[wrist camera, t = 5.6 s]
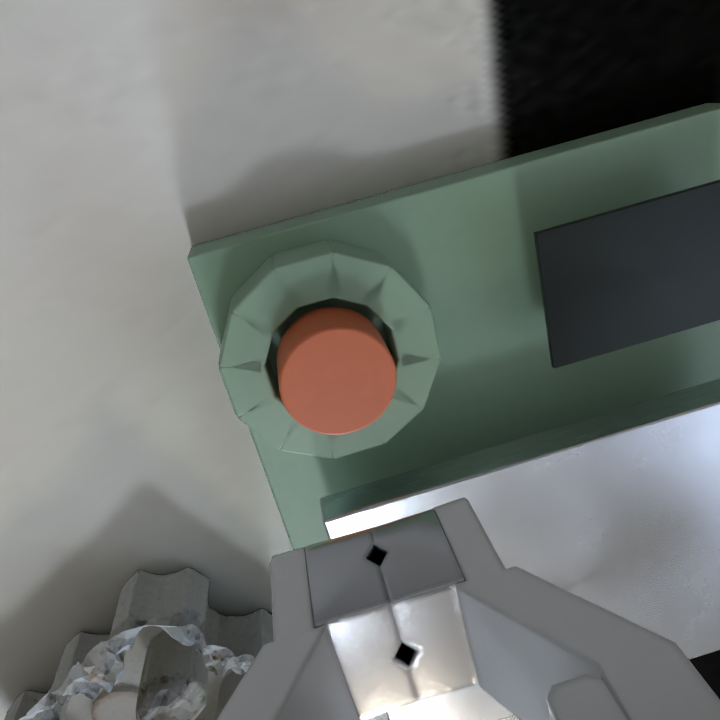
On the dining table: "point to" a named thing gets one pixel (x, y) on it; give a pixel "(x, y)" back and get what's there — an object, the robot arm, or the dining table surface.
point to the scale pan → (598, 443)
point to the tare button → (335, 371)
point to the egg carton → (153, 658)
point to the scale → (447, 309)
